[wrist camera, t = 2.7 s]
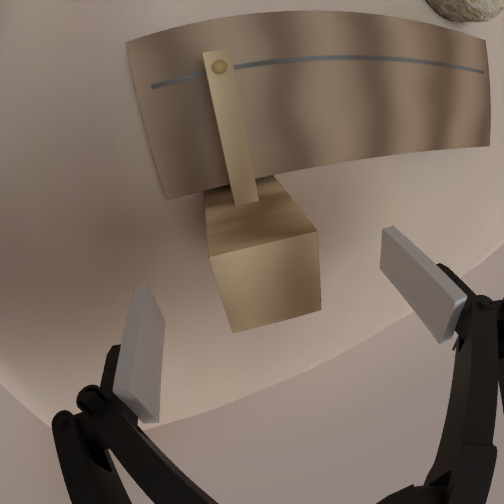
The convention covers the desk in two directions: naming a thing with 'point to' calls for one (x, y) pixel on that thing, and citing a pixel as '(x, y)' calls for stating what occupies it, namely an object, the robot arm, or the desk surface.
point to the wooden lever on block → (255, 224)
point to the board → (309, 92)
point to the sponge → (468, 9)
